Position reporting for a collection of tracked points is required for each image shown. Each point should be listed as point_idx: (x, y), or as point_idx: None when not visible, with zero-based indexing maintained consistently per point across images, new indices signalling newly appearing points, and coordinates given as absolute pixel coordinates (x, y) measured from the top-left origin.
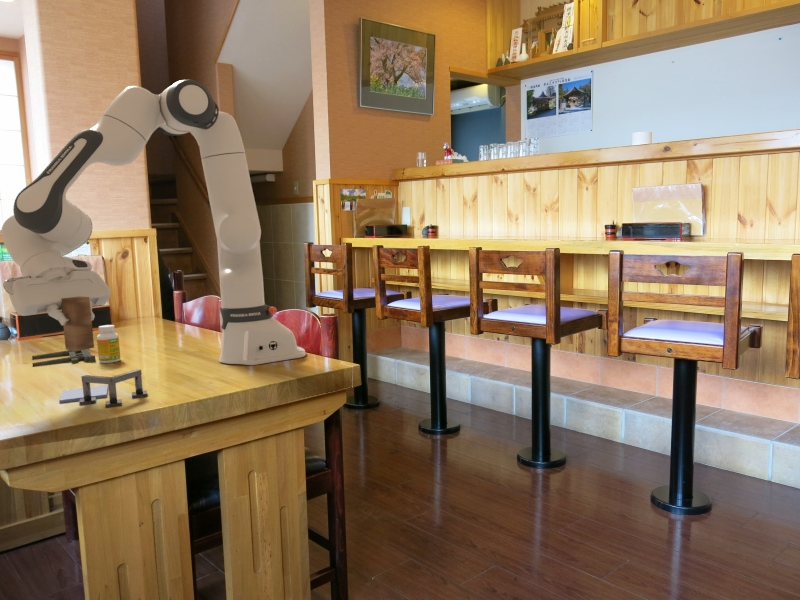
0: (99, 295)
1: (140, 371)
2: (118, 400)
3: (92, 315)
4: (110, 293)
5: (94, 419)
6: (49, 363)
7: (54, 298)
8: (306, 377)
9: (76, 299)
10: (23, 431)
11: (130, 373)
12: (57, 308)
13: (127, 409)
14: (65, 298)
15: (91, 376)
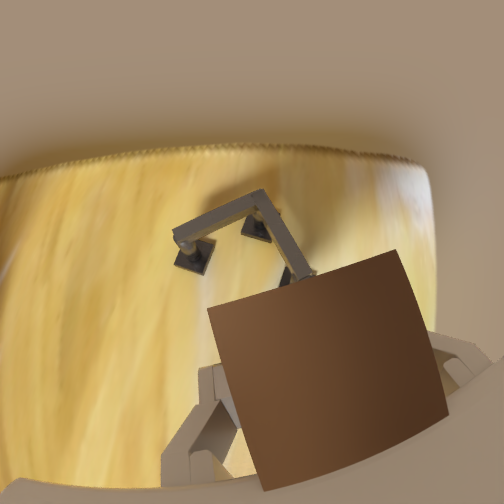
0: (73, 489)
1: (175, 230)
2: (249, 225)
3: (212, 366)
4: (8, 486)
5: (314, 161)
6: None
7: (497, 389)
8: (13, 175)
9: (348, 268)
10: (411, 181)
11: (205, 214)
12: (444, 366)
13: (253, 177)
14: (422, 394)
15: (292, 249)
